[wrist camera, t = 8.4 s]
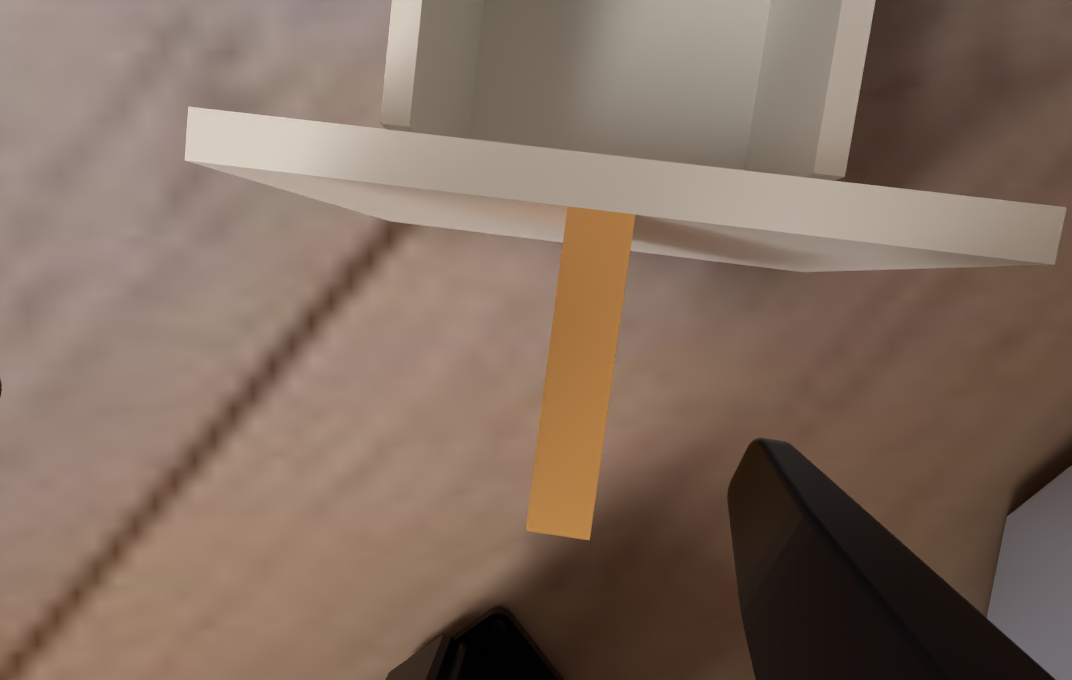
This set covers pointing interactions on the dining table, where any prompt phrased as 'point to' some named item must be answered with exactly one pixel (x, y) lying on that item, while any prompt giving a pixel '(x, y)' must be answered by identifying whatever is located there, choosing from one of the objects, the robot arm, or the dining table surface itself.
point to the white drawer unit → (624, 167)
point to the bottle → (1038, 578)
